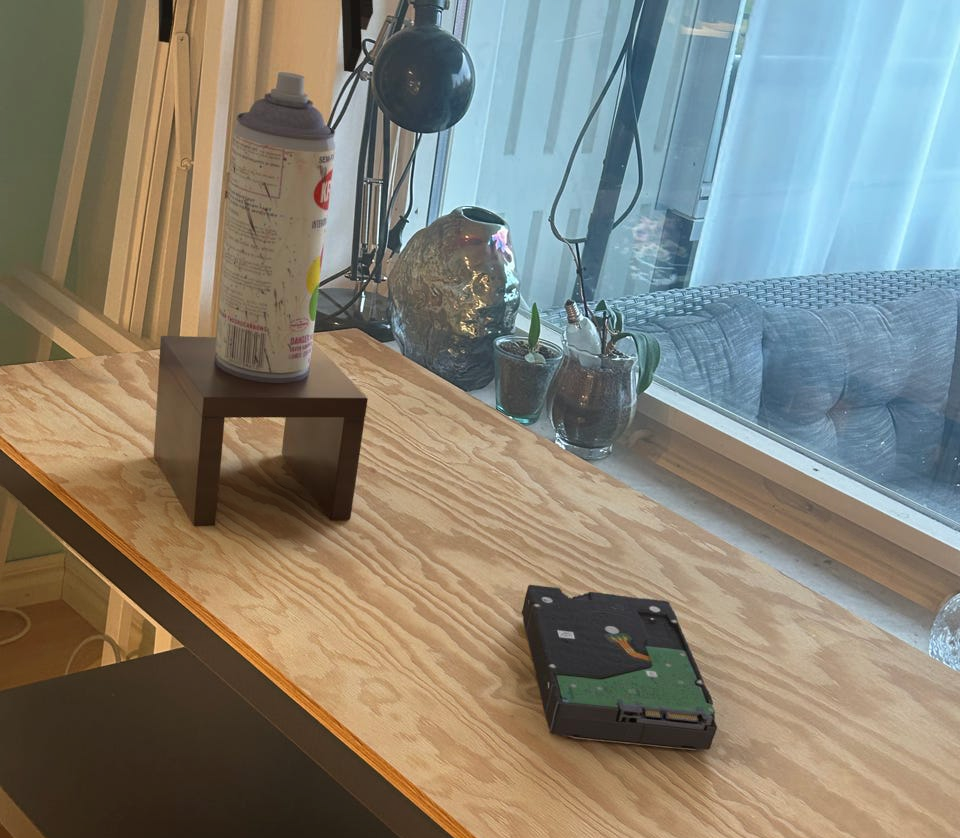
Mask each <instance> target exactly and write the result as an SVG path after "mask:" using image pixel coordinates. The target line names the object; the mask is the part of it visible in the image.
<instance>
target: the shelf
mask: <svg viewBox="0 0 960 838" xmlns="http://www.w3.org/2000/svg"><path fill="white" fill-rule="evenodd" d="M216 341H217V336H189V335H188V336H184V335H181V336H180V335H161V336H160V344H159V345H160V346H159V359H158V374H157V375H158V377H157V395H156V409H155V410H156V411H155V425H154V426H155V428H154V443H153V444H154V445H153V457H154V459H155V461H156V462H157V464H158V466H159V468H160V470H161V471H162V474H163V475H164V476H165V478H166V480H167V482H168V484H169V486H170V487H171V489H172V490H173V492H174V494H175V496H176V498H177V499H178V500H179V503H180V504H181V506H182V507H183V509H184V512H185V513H186V515H187V517H188V518H189V520H190V522H191V524H192V525H193V527H194V526H195V527H196V526H200V527H201V526H216V521H217V513H218V512H217V511H218V501H219V500H218V499H219V487H220V476H221V467H222V466H221V465H222V455H223V454H222V453H223V442H224V432H225V421H226V418H229V419H230V418H233V419H235V418H239V419H240V418H243V419H245V418H284V419H285V420H284V427H283V437H282V445H281V456H282V457H283V459H284V460H285V461H286V462H287V464H288V465H289V467H290V468H291V469H292V470H293V472H294V473H295V474H296V476H297V477H298V478H299V480H300V481H301V482H302V483H303V485H304V486H305V488H306V489H307V490H308V492H309V493H310V494H311V495H312V497H313V498H314V500H315V501H316V503H317V504H318V506H320V508H321V509H322V510H323V512H324V513H325V514H326V516H327V517H328V518H329V520H330V521H346V520H351V517H352V511H353V503H354V496H355V490H356V482H357V475H358V469H359V468H358V467H359V461H360V455H361V447H362V440H363V433H364V427H365V420H366V413H367V407H368V400H369V399H368V397H367V396H366V394H365V393H364V392H363V391H362V390H361V389H360V388H359V387H358V385H356V383H354V381H352V380H351V378H350V377H349V376H348V375H347V374H346V372H344V371H343V370H342V369H341V368H340V367H339V366H338V365H337V363H336V362H335V361H333V359H332V358H331V357H330V356H329V355H328V354H327V353H326V352H325V351H324V349H322V347H321V346H319V344H318V343H317V342H316V341H315V340H314V339H313V342H312V350H311V359H310V364H309V365H310V367H309V373H308V376H307V377H305V378H304V379H302V380H299V381H295V382H288V383H265V382H258V381H252V380H247V379H244V378H240V377H236V376H234V375H232V374H229V373H227V372H225V371H223V370H222V369H221V368H219V367H218V366H217V364H216V362H215V355H216V353H217V352H216Z"/></svg>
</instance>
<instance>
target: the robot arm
mask: <svg viewBox="0 0 960 838" xmlns="http://www.w3.org/2000/svg"><path fill="white" fill-rule="evenodd" d="M373 15H374V0H341V25H342V27H341V28H342V55H343V71H344V72H349V73H354V72H355V70H356V67H357V65H358V62H359V59H360V56H361V54H362V50H363V44H362V43H363V42H362V40H363V39H362V30H363V31H367V30H368V28H369V27H370V23H371V20H372V17H373ZM173 22H174V0H158V42H161V43H165V44H166V43H167V44H170V41H171V36H172V28H173Z"/></svg>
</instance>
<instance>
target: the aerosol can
mask: <svg viewBox="0 0 960 838" xmlns="http://www.w3.org/2000/svg"><path fill="white" fill-rule="evenodd" d="M275 84H276V85H275V88H271V89H270V92H268V93H264V97H263V98H260V99H258V100H256V101H254V102H253V104H252V105H251V107H250V109H249V111H246V112H241V113H238V114H237V115H236V121H237V123H236V125H235V127H234V129H233V133H232V143H231V144H232V145H231V158H230V169H229V181H228V193H227V206H226V216H225V230H224V243H223V256H222V268H221V278H220V279H221V281H220V290H219V291H220V294H219V305H218V317H217V318H218V319H217V329H216V337H217V341H216V352H217V353H216V355H215V362H216V364H217V366H218V367H219V368H221V369H222V370H223V371H225V372H227V373H229V374H232V375H234V376H236V377H240V378H244V379H247V380H252V381H258V382H265V383H288V382H295V381H299V380H302V379H304V378H305V377H307V376H308V373H309V367H310V365H309V364H310V359H311V350H312V342H313V340H314V333H315V325H316V317H317V308H318V307H317V306H318V300H319V299H318V298H319V291H320V290H319V289H320V282H321V273H322V264H323V257H324V256H323V255H324V247H325V239H326V230H327V221H328V213H329V205H330V197H331V188H332V180H333V171H334V163H335V154H336V148H337V147H336V143H335V138H334V137H335V134H336V130H335V129H333V127H330V126H328V125H326V123H325V120H324V119H325V118H324V116H323V114H322V113H321V112H320V110H318V109H317V108H316V107H314V102H313V101H312V100H310V99H308V98H309V95H308V94H306V93H305V92H304V87H305V76H303V75H300V74H297V73H292V72H285V71H279V72H277V79H276V83H275Z"/></svg>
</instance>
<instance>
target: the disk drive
mask: <svg viewBox="0 0 960 838" xmlns="http://www.w3.org/2000/svg"><path fill="white" fill-rule="evenodd" d="M521 616H522V622H523V626H524V632H525V635H526V639H527V643H528V648H529V652H530V657H531V661H532V666H533V669H534V671H535V676H536V681H537V686H538V690H539V696H540V699H541V704H542V709H543V712H544V716H545V720H546V724H547V727H548V731H549V734H551V735H555V736H557V735H560V736H562V737H569V738H572V739H576V740H577V739H578V740H588V741H598V742H599V741H601V742H607V743H608V742H609V743H620V744H627V745H628V744H629V745H637V746H647V747H657V748H658V747H659V748H668V749H678V750H679V749H680V750H689V751H698V750H705V751H709V750H710V749H711V746H712V744H713V740H714V737H715V735H716V732H717V730H718V726H717V723H716V721H715V719H716V718H715V716H716V710H715V709H714V707H713V704H714V702H713V698H712V696H711V693H710V691H709V690H708V688H707V685H706V683H705V682H704V679H703V676H702V674H701V671H700V670H699V667H698V664H697V662H696V661H695V657H694V656H693V655H694V654H693V653H692V650H691V649H690V647H689V644H688V641H687V639H686V637H685V635H684V632H683V630H682V628H681V625H680V623H679V620H678V616H677V615H676V613H675V611H674V609H673V607H672V605H671V603H670V601H668V600H662V599H653V598H646V597H645V598H643V597H635V596H634V597H633V596H627V595H618V594H614V593H603V592H595V591H588V592H586V593H583V594H579V595H575V596H572V597H569V595H567V594H566V593H564V592H563V591H562V589H561V588H560V587H556V586H555V587H554V586H544V585H536V584H528V586H527V587H526V592H525V597H524V601H523V606H522V610H521Z"/></svg>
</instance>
